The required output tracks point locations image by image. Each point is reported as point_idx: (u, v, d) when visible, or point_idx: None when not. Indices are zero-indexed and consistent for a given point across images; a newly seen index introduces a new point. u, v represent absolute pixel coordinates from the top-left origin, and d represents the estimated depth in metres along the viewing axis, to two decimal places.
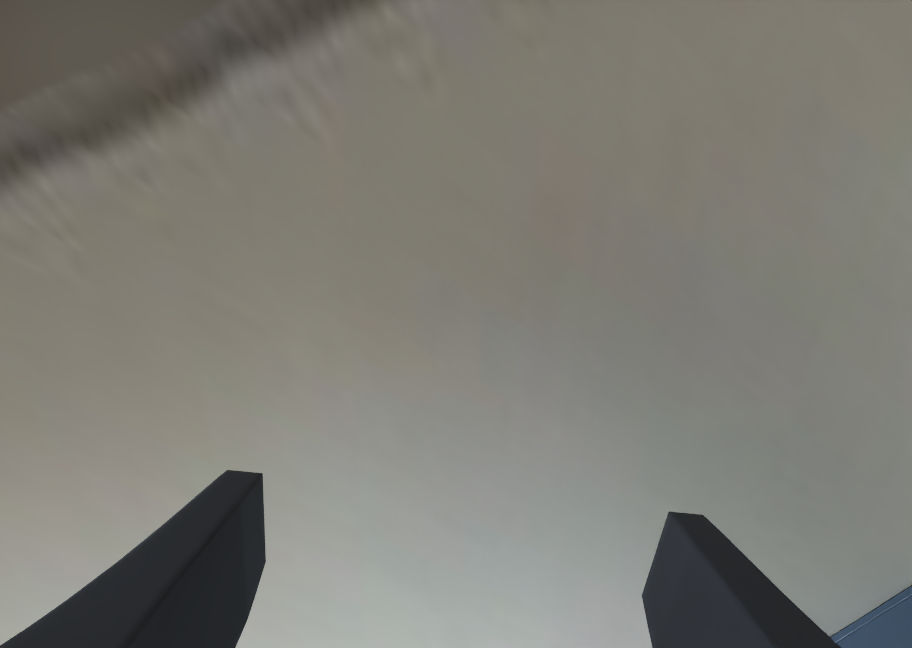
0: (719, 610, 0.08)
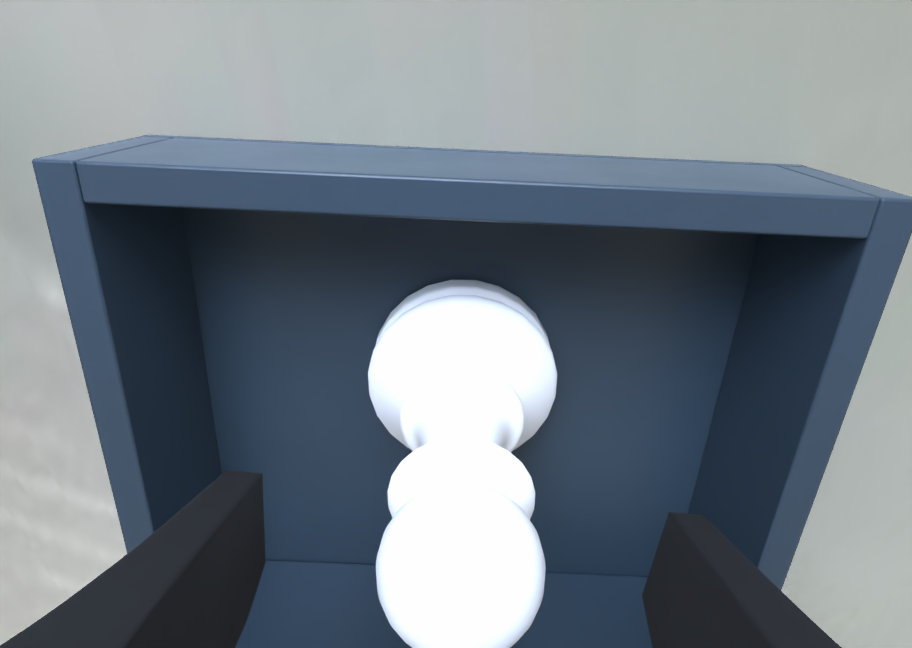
0: (719, 610, 0.08)
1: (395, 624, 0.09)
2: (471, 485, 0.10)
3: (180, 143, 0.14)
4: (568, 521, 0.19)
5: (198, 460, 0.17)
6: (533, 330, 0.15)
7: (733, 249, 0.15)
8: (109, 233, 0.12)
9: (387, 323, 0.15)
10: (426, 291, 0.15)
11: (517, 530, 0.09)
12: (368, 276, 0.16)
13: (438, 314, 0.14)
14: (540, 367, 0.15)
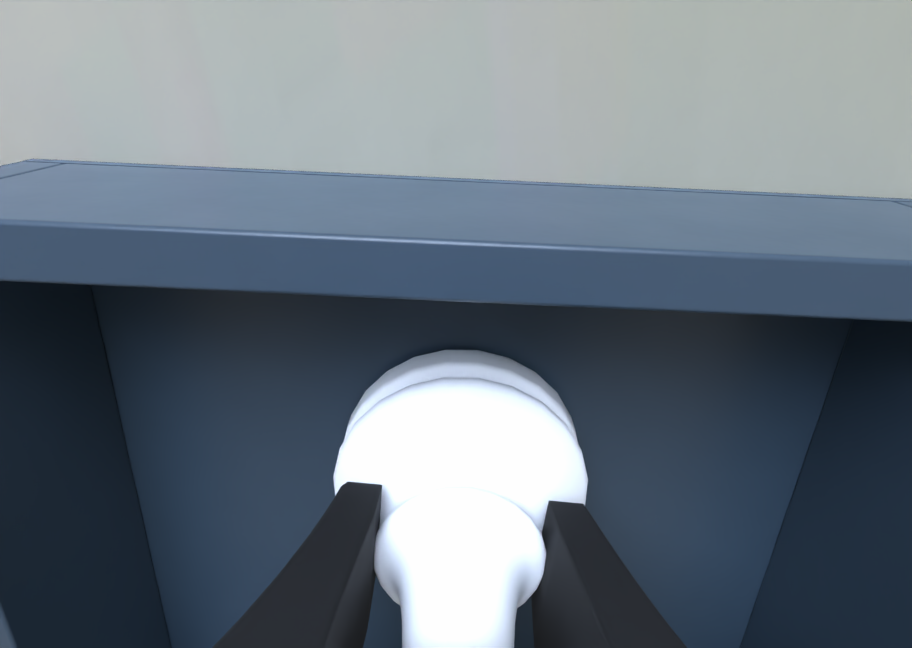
0: (573, 597, 0.08)
1: None
2: None
3: (65, 173, 0.10)
4: None
5: (117, 579, 0.13)
6: (557, 425, 0.11)
7: None
8: None
9: (360, 409, 0.12)
10: (412, 368, 0.11)
11: None
12: (336, 344, 0.12)
13: (427, 406, 0.10)
14: (566, 476, 0.11)
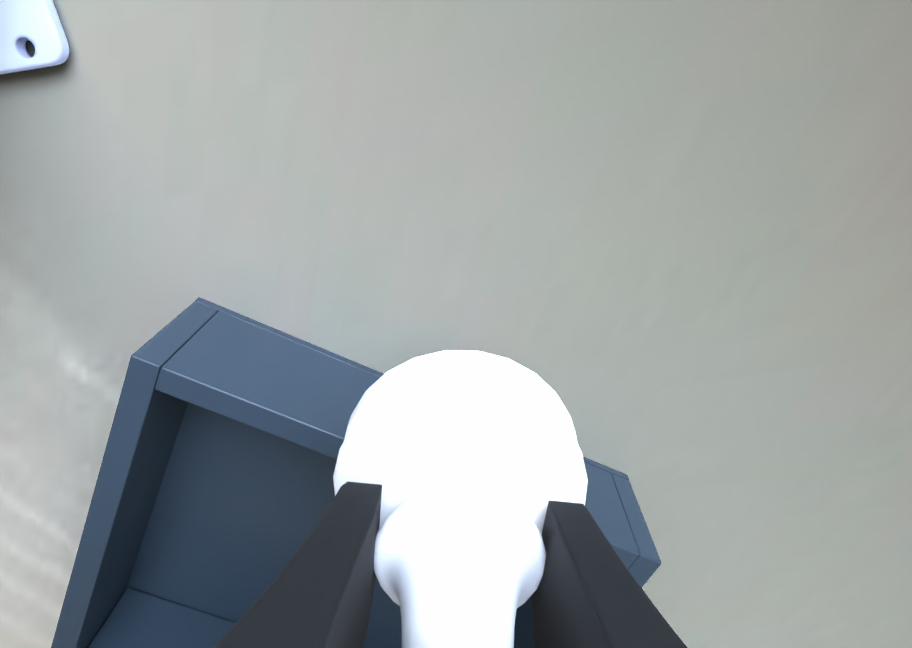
0: (573, 597, 0.08)
1: None
2: None
3: (225, 330, 0.18)
4: (395, 636, 0.25)
5: (138, 524, 0.21)
6: (556, 426, 0.11)
7: None
8: (158, 399, 0.17)
9: (360, 409, 0.12)
10: (412, 368, 0.11)
11: None
12: None
13: (426, 407, 0.10)
14: (566, 477, 0.11)
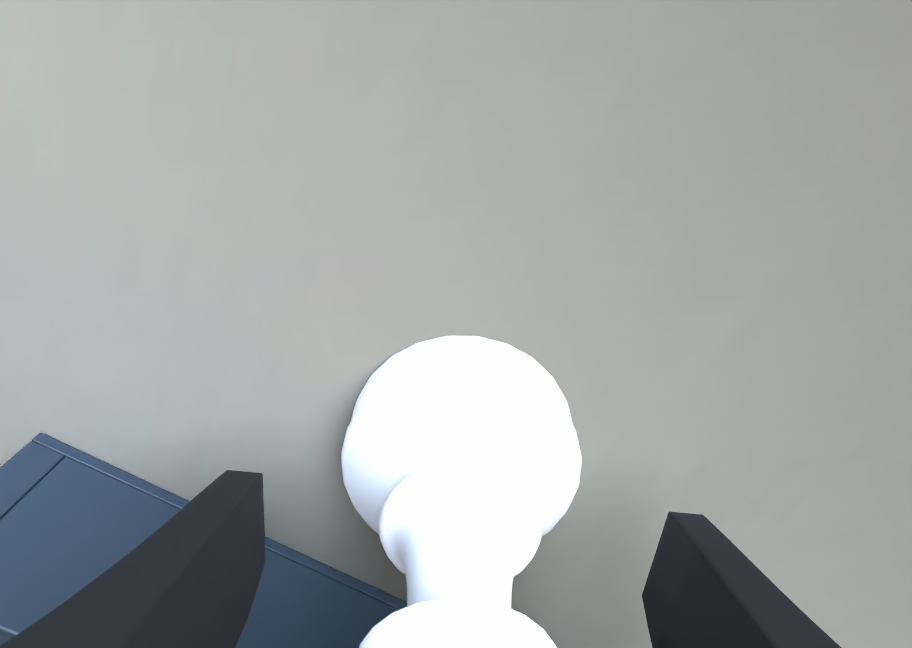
0: (719, 610, 0.08)
1: None
2: None
3: (65, 495, 0.13)
4: None
5: None
6: (552, 406, 0.11)
7: None
8: None
9: (366, 391, 0.12)
10: (416, 353, 0.12)
11: None
12: None
13: (430, 387, 0.11)
14: (560, 454, 0.11)
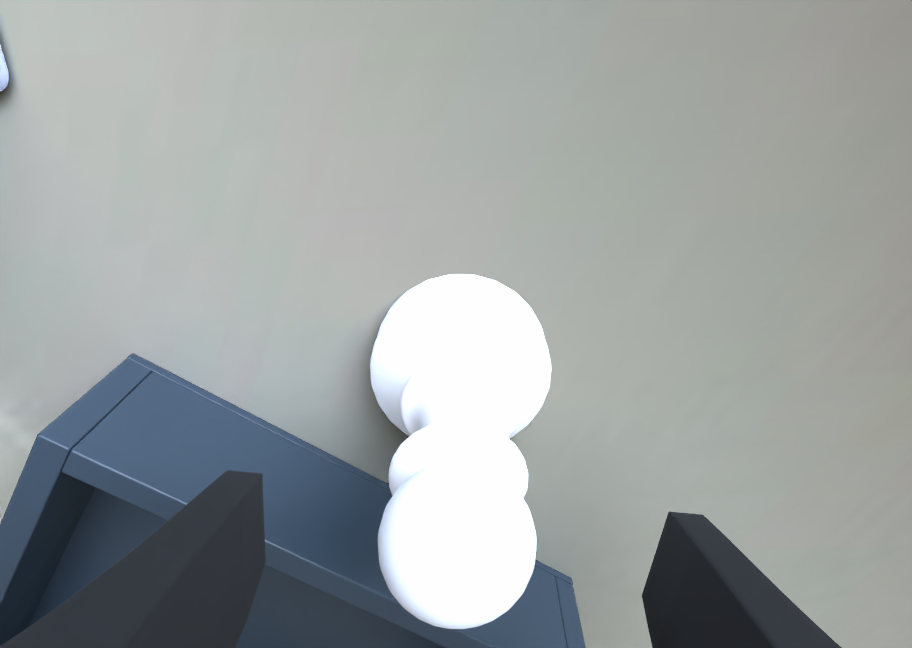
0: (719, 610, 0.08)
1: (396, 591, 0.10)
2: (467, 463, 0.10)
3: (156, 397, 0.17)
4: None
5: (38, 584, 0.19)
6: (528, 323, 0.15)
7: None
8: (67, 476, 0.15)
9: (388, 315, 0.16)
10: (426, 285, 0.16)
11: (510, 504, 0.10)
12: None
13: (437, 307, 0.15)
14: (535, 359, 0.15)
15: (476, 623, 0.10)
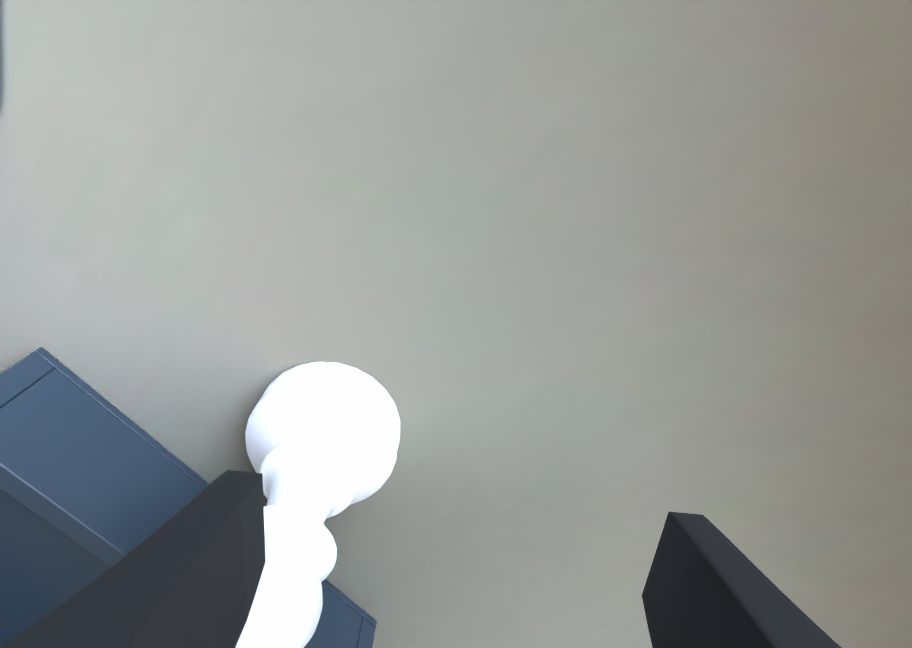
0: (719, 610, 0.08)
1: None
2: (285, 549, 0.14)
3: (52, 395, 0.19)
4: None
5: None
6: (385, 423, 0.19)
7: None
8: None
9: (276, 383, 0.19)
10: (314, 368, 0.19)
11: (304, 590, 0.13)
12: None
13: (315, 393, 0.18)
14: (382, 452, 0.19)
15: None
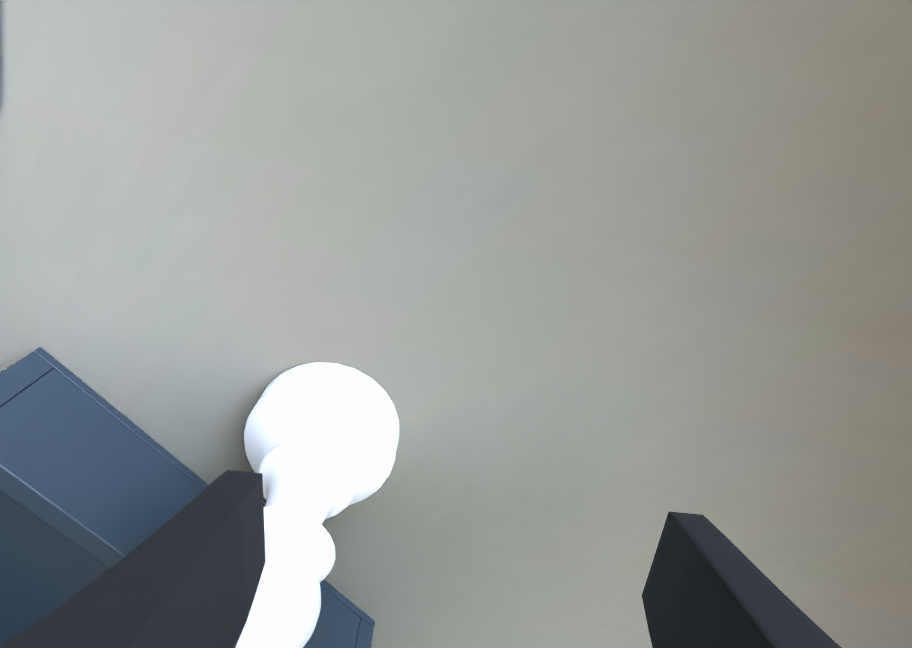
0: (719, 610, 0.08)
1: None
2: (283, 550, 0.14)
3: (51, 395, 0.19)
4: None
5: None
6: (384, 424, 0.19)
7: None
8: None
9: (274, 383, 0.19)
10: (313, 369, 0.19)
11: (303, 591, 0.13)
12: None
13: (314, 394, 0.18)
14: (381, 453, 0.19)
15: None
